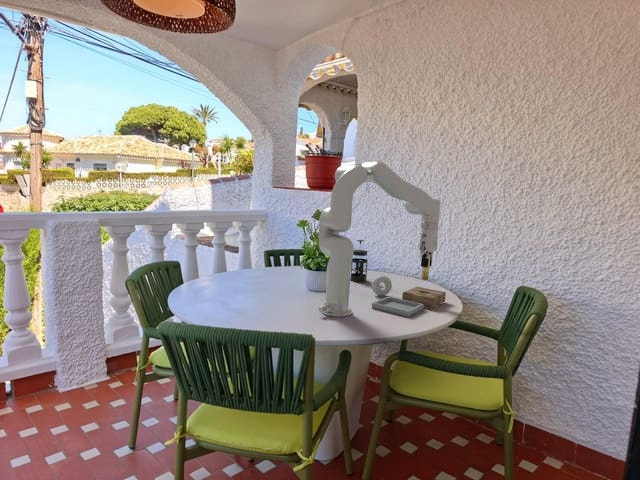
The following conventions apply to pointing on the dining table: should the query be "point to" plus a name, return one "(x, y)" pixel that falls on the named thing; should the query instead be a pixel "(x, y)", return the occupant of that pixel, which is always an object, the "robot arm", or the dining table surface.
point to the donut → (377, 281)
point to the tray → (398, 306)
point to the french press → (359, 276)
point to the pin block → (425, 296)
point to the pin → (426, 270)
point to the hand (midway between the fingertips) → (426, 266)
